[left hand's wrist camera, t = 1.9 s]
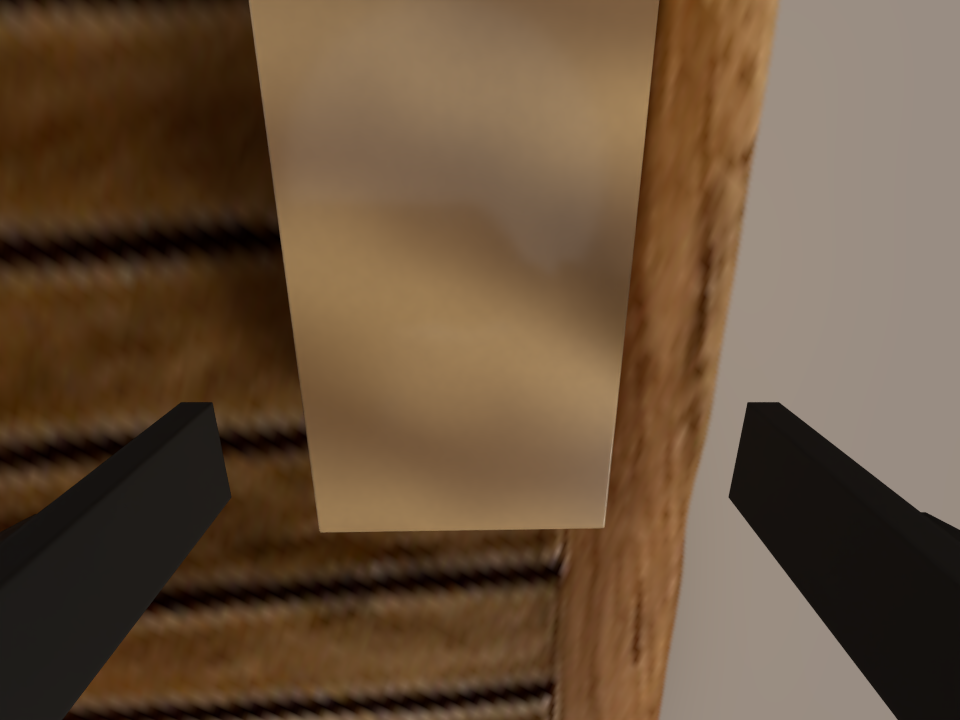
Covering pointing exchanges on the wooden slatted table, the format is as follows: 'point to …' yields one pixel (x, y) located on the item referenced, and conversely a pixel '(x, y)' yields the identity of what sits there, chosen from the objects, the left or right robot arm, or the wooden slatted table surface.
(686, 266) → the wooden slatted table surface
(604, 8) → the long beam
